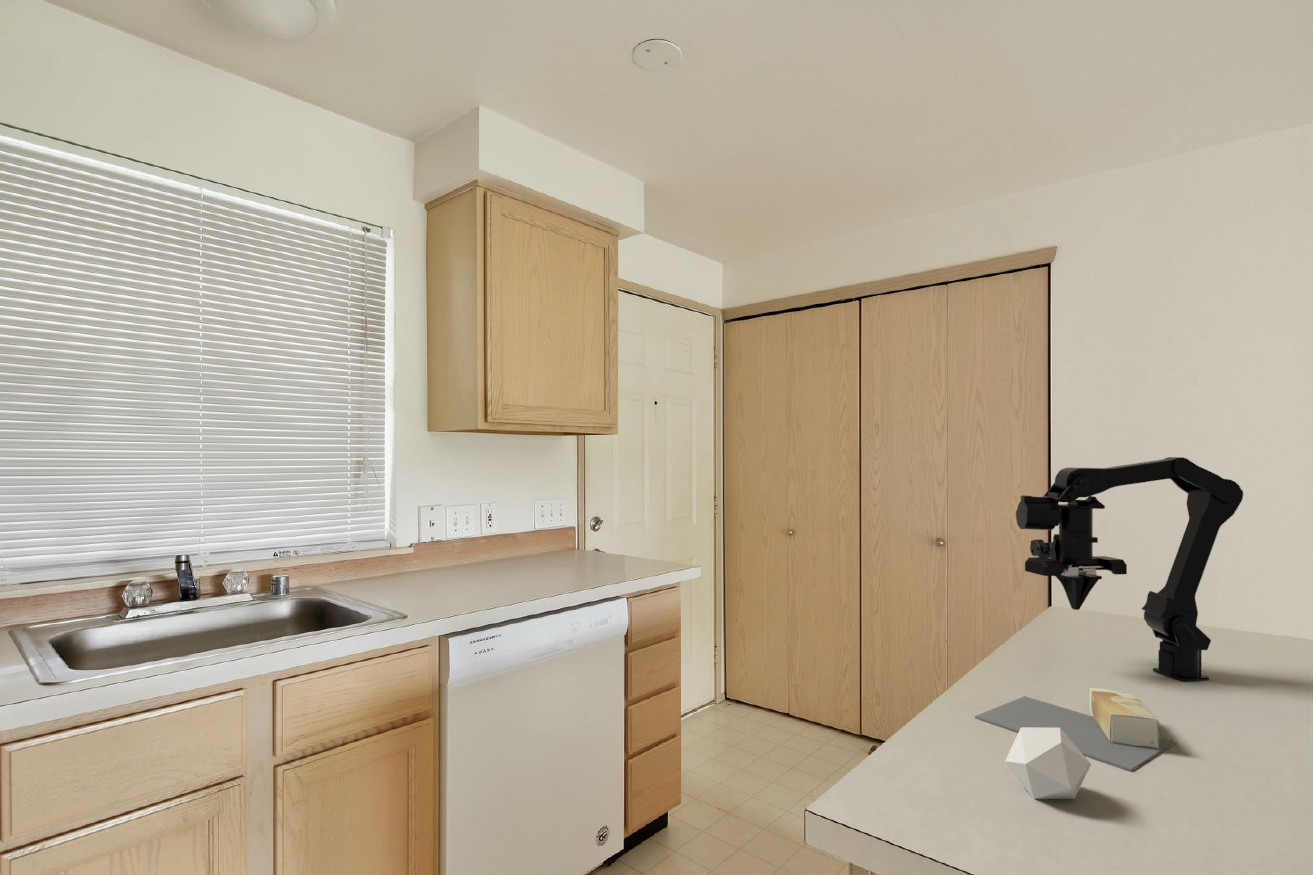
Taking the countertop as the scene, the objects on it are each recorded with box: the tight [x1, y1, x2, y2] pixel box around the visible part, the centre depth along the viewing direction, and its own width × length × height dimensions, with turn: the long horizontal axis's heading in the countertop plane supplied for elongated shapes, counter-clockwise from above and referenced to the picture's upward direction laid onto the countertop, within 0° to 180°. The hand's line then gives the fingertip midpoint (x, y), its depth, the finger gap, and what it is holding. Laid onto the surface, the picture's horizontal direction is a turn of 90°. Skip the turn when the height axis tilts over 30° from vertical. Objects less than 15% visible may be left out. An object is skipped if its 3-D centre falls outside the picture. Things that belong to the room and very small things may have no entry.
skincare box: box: [1088, 687, 1160, 749], centre depth 105 cm, size 6×4×12 cm
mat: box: [974, 696, 1176, 772], centre depth 106 cm, size 16×22×1 cm
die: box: [1004, 727, 1092, 800], centre depth 86 cm, size 8×9×10 cm
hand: (1075, 609), depth 135 cm, fingers closed
